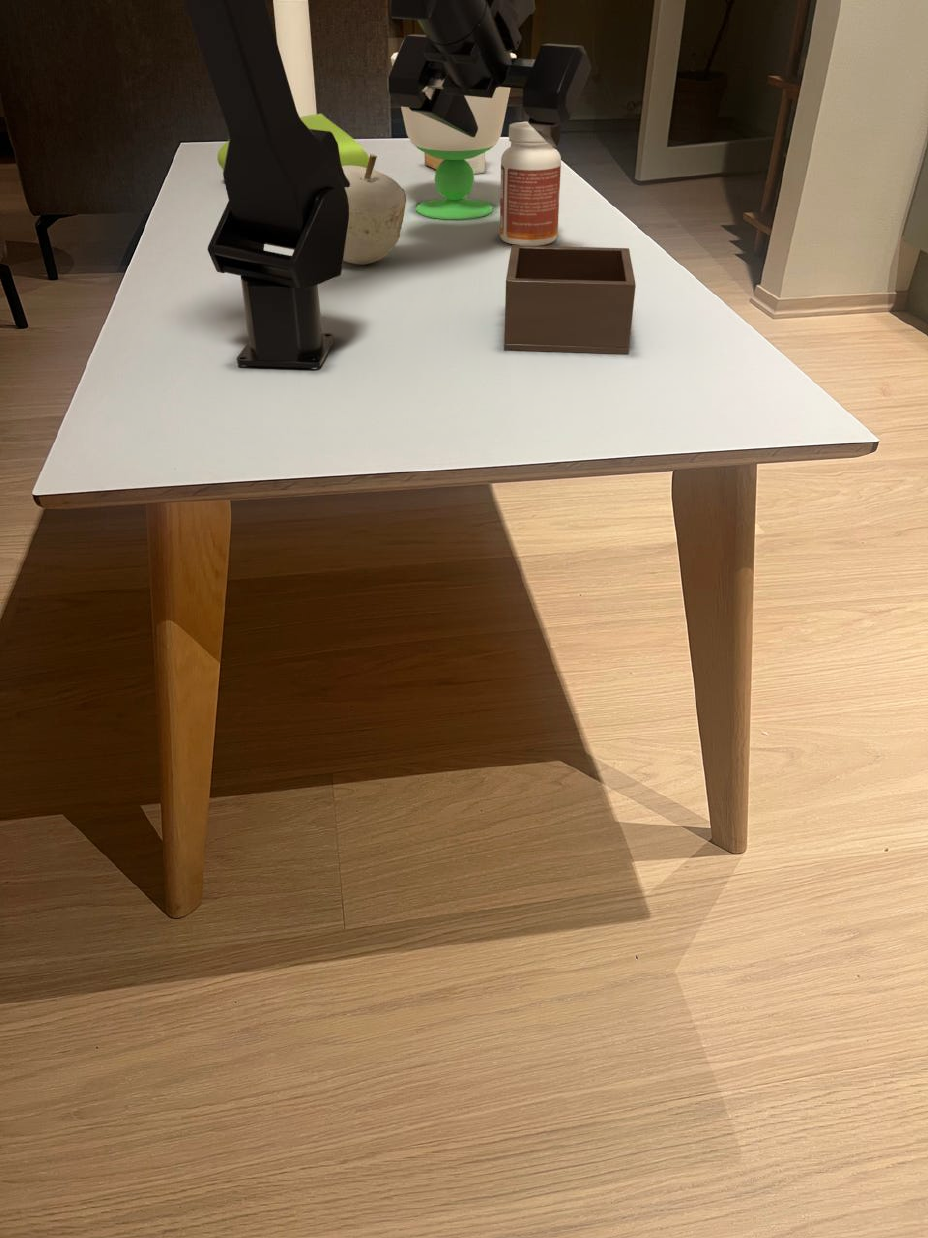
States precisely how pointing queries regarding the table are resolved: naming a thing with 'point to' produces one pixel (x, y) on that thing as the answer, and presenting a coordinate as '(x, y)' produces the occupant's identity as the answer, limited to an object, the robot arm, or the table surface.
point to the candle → (296, 52)
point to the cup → (457, 153)
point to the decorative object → (372, 213)
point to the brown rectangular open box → (569, 299)
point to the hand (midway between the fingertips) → (515, 137)
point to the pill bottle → (529, 188)
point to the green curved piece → (347, 145)
